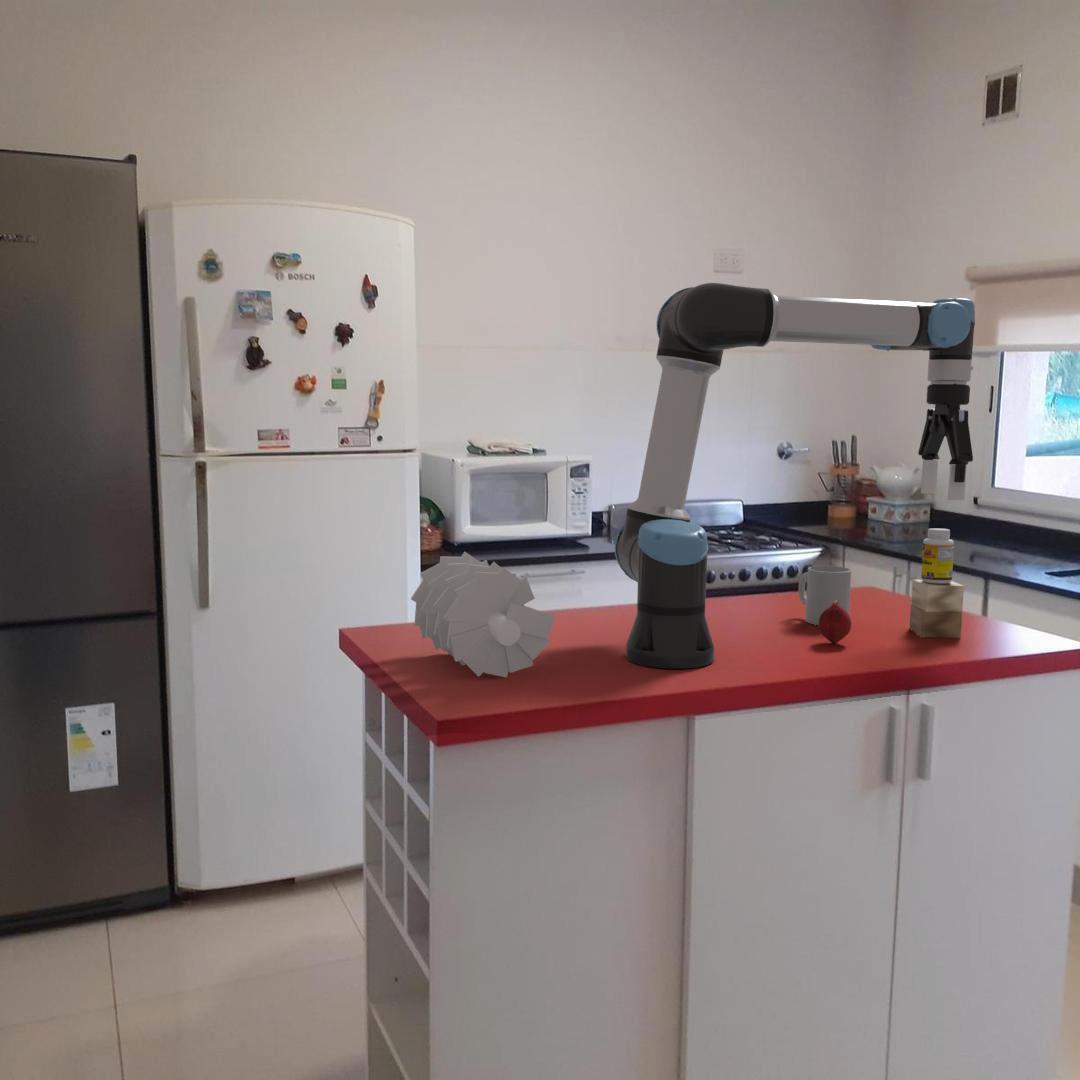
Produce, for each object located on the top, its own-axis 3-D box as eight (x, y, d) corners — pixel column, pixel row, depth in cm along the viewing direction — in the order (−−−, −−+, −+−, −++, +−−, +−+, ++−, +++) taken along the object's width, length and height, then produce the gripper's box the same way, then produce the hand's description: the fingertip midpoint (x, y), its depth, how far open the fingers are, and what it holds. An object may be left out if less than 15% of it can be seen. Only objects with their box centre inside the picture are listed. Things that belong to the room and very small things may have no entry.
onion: (851, 648, 198) (853, 604, 197) (818, 646, 199) (820, 603, 198) (849, 640, 204) (851, 598, 203) (817, 639, 205) (819, 597, 204)
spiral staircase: (480, 709, 172) (430, 664, 195) (573, 653, 178) (513, 616, 200) (434, 611, 166) (387, 576, 189) (532, 556, 171) (475, 529, 194)
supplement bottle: (916, 580, 212) (919, 527, 211) (944, 580, 213) (947, 527, 212) (927, 584, 207) (930, 530, 206) (956, 584, 207) (959, 530, 206)
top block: (926, 612, 207) (927, 585, 206) (911, 604, 214) (913, 579, 213) (962, 611, 207) (963, 585, 207) (946, 604, 214) (948, 579, 214)
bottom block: (920, 637, 208) (921, 611, 207) (909, 629, 215) (910, 604, 214) (960, 638, 207) (962, 612, 207) (948, 629, 215) (949, 604, 214)
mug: (858, 624, 219) (860, 570, 217) (827, 628, 214) (830, 573, 213) (813, 613, 229) (815, 561, 227) (783, 617, 224) (785, 565, 223)
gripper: (997, 383, 192) (989, 503, 195) (943, 384, 217) (936, 490, 220) (955, 382, 192) (947, 503, 195) (905, 383, 217) (899, 490, 220)
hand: (941, 496), depth 208 cm, fingers open, 13 cm apart
